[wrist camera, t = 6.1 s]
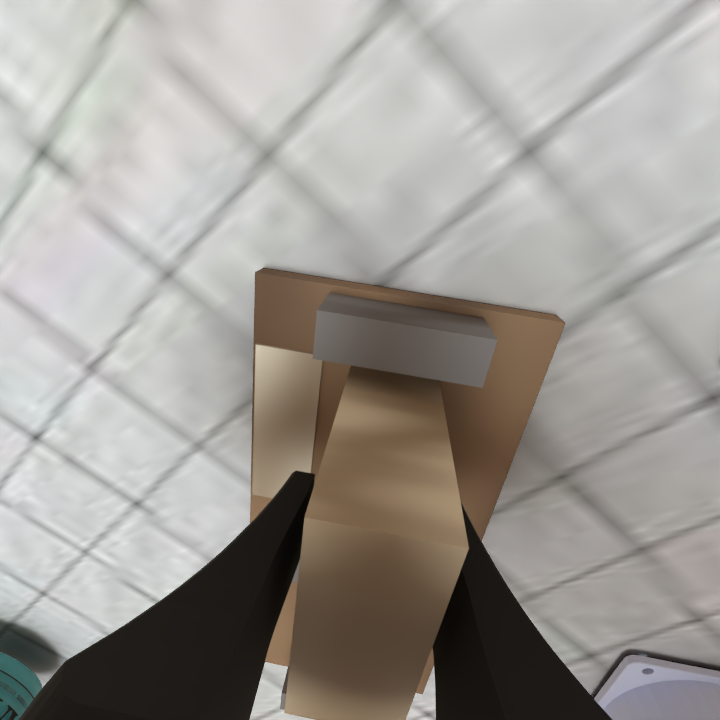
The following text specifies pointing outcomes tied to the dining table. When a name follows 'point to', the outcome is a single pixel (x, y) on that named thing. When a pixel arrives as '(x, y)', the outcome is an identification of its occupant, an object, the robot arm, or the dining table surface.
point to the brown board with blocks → (392, 354)
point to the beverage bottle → (16, 687)
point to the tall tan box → (376, 552)
